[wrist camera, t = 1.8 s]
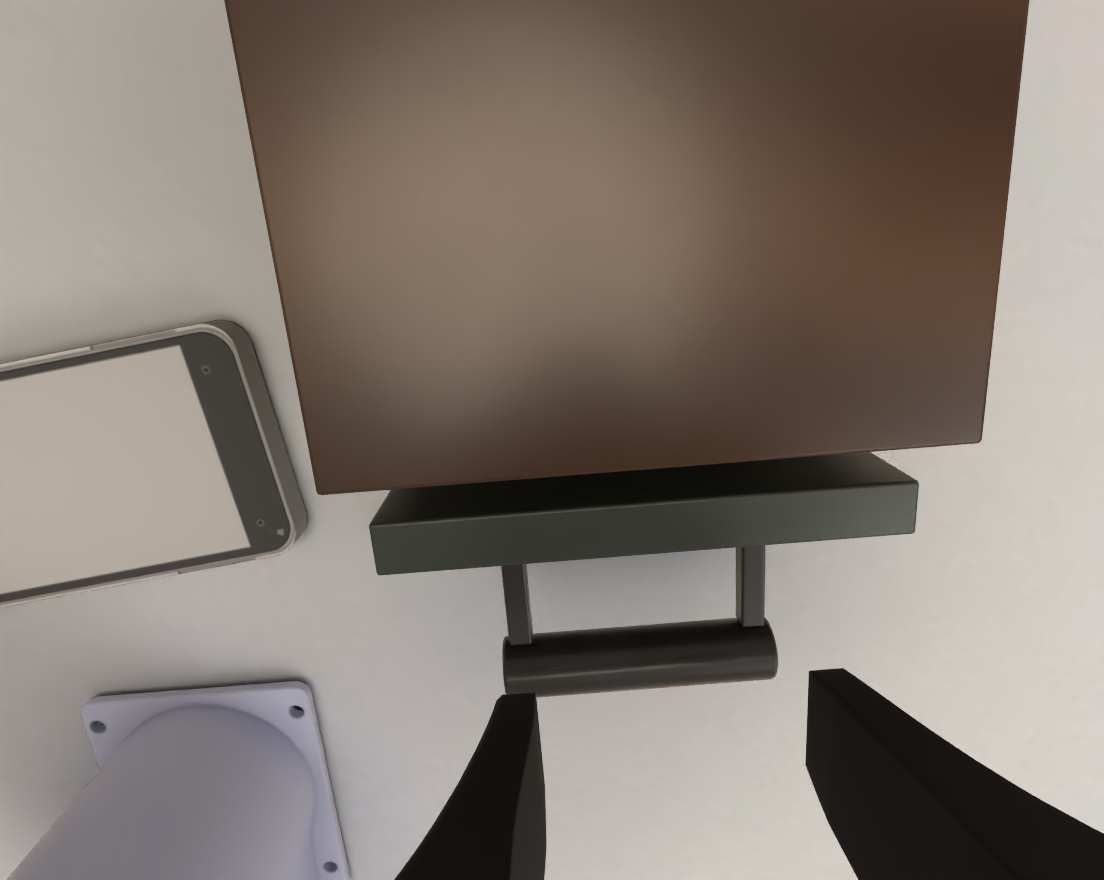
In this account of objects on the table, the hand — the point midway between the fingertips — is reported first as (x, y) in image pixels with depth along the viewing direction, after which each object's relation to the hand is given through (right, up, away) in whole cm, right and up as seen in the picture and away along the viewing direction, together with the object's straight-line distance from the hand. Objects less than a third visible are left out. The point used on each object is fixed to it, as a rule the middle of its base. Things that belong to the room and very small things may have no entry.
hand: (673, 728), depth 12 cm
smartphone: (-18, +4, +9) cm, 21 cm away
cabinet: (-1, +14, +7) cm, 16 cm away
